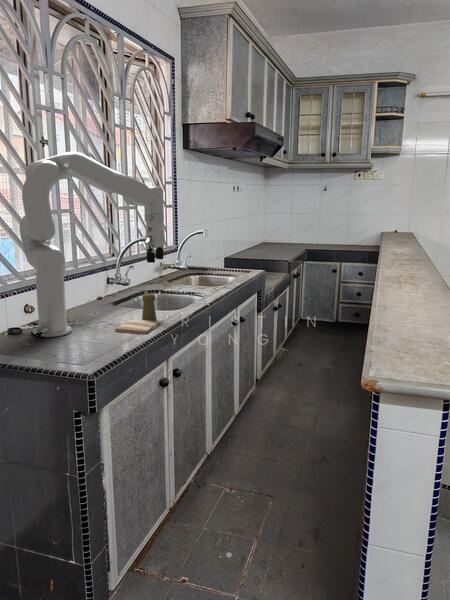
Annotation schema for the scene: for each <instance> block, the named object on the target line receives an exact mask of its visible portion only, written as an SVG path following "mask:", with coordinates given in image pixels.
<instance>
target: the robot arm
mask: <svg viewBox="0 0 450 600" xmlns="http://www.w3.org/2000/svg"><path fill="white" fill-rule="evenodd" d="M24 171H25V174H24V175H25V181H24V183H23V184H22V185H23V186H22V191H21V199H22V206H23V211H24V216H23V217H22V218H21V220H20V222H19V235H20V239H21V243H22V247H23V251H24V255H25V257H26V260H27V263H28V264H29V265H30V266H31V267H32V268H34V269H36V275H35V289H36V301H37V302H36V303H37V305H36V306H37V315H38V317H37V319H38V323H37V327H34V328H32V331H31V332H32V334H34V335H36V333H39V332H42V333H43V334H41V336H40V337H42V336H43V337H45V338H52V337H53V338H54V337H61V336H65V335H68V334H70V333H72V327H71V326H70V325H67V323H68V322H67V321H68V320H67V305H66V292H65V290H66V289H65V271H66V258H65V255H64V253H63V251H62V250H61V249H60V248H59V247H57V246H54V245H52V244H51V243H50V242H51V241H50V240H52V239H53V238H54V237H55V234H56V226H55V221H54V216H53V212H52V209H51V202H50V194H51V193H50V192H51V190H52V188H53V187H54V185H56V183H58V182H59V181H61V180H64V179H67V178H69V177H74V178H76V180H77V179H78V180H80V181H81V182H83V183H86V184H88V185H90V186H91V187H93V188H95V189H97V190H100V191H103V192H106V193H111V194H116V195H119V196H122V198H123V202H125V204H127V205H130V206H134V207H135V206H136V207H144V209H143V210H144V223H145V251H146V263H149V264H150V263H152V264H154V263H155V262H156V260H163V259H164V245H165V244H166V239H165V238H166V236H165V234H166V233H165V227H164V219H165V218H164V217H165V215H164V212H165V211H164V191H163V190H164V189H163V187H161V186H148V185H146V184H145V183H143V182H141V181H139V180H137V179H135V178H133V177H131V176H129V175H126V174H123V173H121V172H119V171H116V170H114V169H111V168H110V167H107V166H105V165H104V164H101V163H100V162H99V161H96V160H94V159H93V158H91V157H89V156H87V155H85V154H84V153H81V152H78V151H69V152H68V151H67V152H63V153H60V154H56V155H53V156H50V157H47V158H43V159H40V160H36V161H33V162H30V163H29V164H28V165H27V167H26V168H25V170H24ZM155 248H156V249H155ZM43 337H42V338H43Z"/></svg>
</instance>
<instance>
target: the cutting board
mask: <svg viewBox="0 0 450 600" xmlns="http://www.w3.org/2000/svg"><path fill="white" fill-rule="evenodd" d="M159 324H160V325H161V322H160V320H157V321H148V320H142V319H134V318H133V319H132V318H131V319H129V320H128V321H126V322H124V323H122V324H120V325H119V326H117V327H115V332H117V333H129V334H140V335H147V334H148V333H150V332H151V331H153V330H154V329H155V328H156V326H157V325H158V326H160V325H159ZM158 326H157V327H158ZM153 328H154V329H153ZM152 329H153V330H152ZM150 330H151V331H150ZM149 331H150V332H149ZM147 332H148V333H147ZM146 333H147V334H146Z"/></svg>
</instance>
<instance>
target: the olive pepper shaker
mask: <svg viewBox="0 0 450 600" xmlns="http://www.w3.org/2000/svg"><path fill="white" fill-rule="evenodd" d="M141 299H142V302H143V304H142V305H143V306H142V315H141V320H148V321H158V320H157V319H158V318H157V313H156V306H155V301H156V296H155V294H154V293H150V292H149V293H148V292H147V293H144V294H142V296H141Z"/></svg>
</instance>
